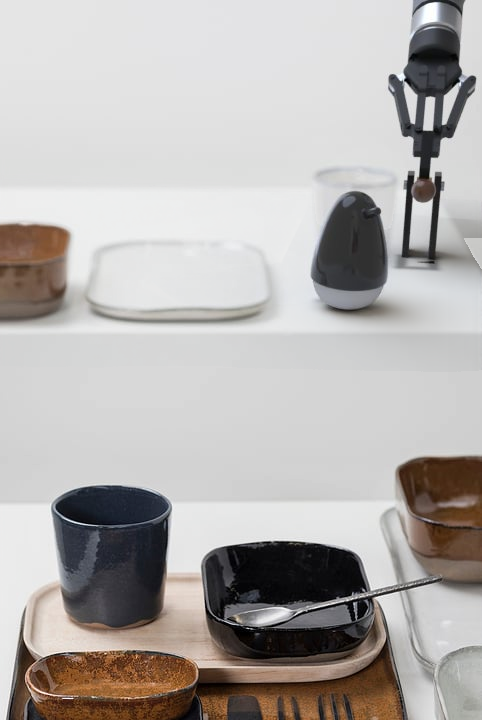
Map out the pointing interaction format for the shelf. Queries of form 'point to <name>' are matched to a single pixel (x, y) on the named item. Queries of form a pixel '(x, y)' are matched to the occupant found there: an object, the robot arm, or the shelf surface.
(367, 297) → the pump dispenser
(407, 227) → the bracket
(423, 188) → the ball knob lever
